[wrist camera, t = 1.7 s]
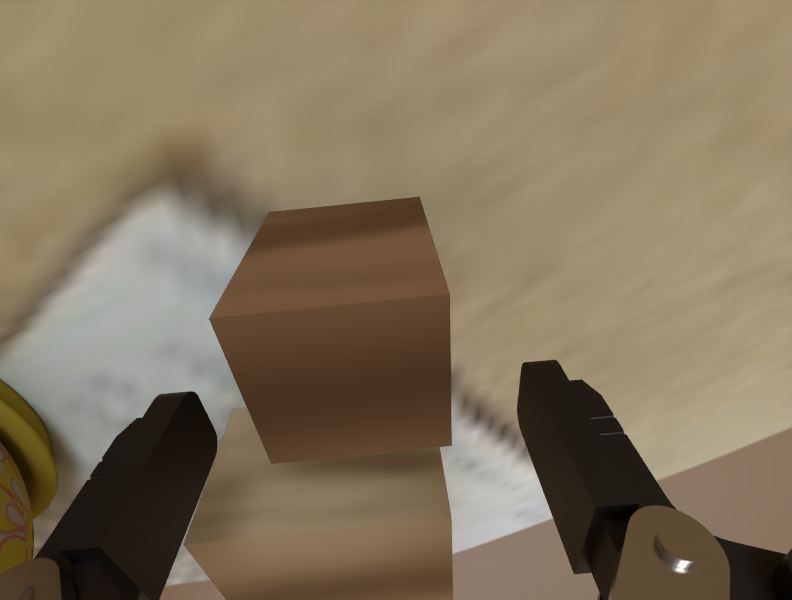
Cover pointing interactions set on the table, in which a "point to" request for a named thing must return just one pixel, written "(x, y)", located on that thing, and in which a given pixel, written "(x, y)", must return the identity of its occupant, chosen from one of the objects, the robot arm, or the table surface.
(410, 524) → the oak box
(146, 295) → the table surface
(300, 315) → the walnut block
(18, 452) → the flowerpot
